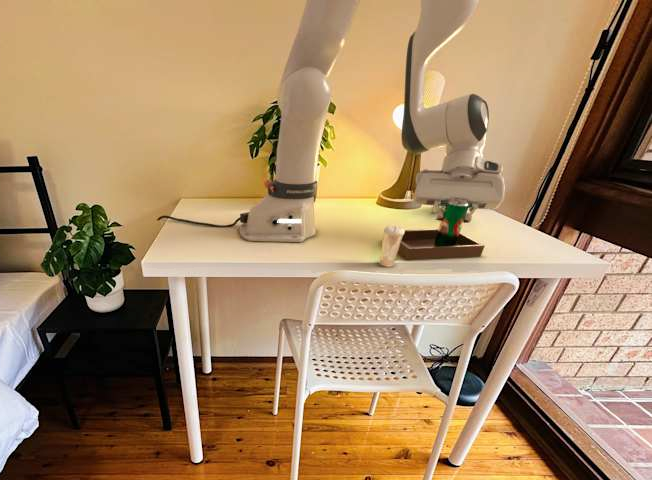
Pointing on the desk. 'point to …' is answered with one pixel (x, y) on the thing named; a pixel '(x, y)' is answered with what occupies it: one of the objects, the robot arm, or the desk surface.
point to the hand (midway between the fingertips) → (452, 220)
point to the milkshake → (390, 244)
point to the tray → (423, 247)
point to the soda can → (451, 222)
